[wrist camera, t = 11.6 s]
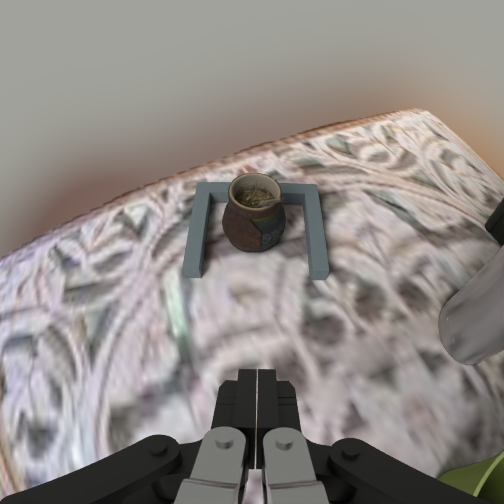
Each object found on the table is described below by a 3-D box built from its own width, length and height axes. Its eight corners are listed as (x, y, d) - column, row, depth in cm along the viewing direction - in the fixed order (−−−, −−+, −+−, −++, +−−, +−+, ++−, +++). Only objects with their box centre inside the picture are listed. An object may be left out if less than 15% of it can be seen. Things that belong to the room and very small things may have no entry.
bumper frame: (314, 194, 42) (316, 184, 40) (325, 279, 35) (329, 271, 33) (199, 192, 42) (197, 182, 41) (185, 277, 35) (182, 268, 33)
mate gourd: (251, 204, 41) (253, 143, 33) (297, 235, 38) (310, 176, 30) (211, 236, 38) (203, 176, 30) (258, 273, 35) (262, 216, 27)
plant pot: (483, 435, 23) (551, 418, 14) (484, 517, 16) (549, 522, 7) (399, 467, 23) (463, 471, 13) (400, 557, 16) (455, 587, 7)
